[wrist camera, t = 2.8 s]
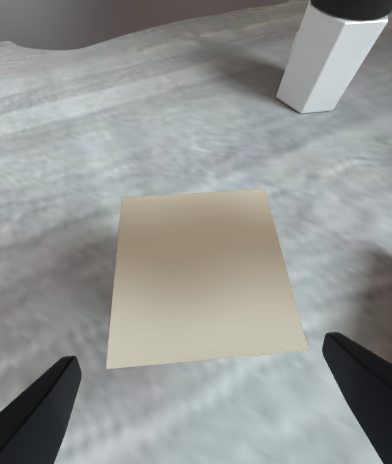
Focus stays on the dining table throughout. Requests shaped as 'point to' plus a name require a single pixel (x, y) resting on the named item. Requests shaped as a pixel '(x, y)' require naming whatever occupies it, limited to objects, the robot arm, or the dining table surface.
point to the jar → (330, 51)
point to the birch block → (199, 281)
